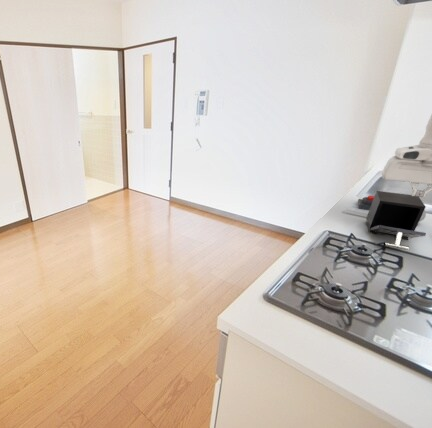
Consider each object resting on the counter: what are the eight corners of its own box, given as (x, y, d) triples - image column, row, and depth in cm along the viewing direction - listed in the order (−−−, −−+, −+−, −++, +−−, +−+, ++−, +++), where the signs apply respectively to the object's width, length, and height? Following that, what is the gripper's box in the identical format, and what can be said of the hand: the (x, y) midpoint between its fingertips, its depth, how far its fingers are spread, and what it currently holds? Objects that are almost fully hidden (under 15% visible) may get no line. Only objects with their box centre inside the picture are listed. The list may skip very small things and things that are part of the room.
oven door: (408, 252, 102) (421, 252, 92) (366, 244, 108) (374, 243, 98) (412, 235, 102) (426, 232, 92) (370, 227, 108) (379, 225, 98)
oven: (409, 241, 103) (425, 206, 98) (367, 233, 110) (380, 200, 104) (403, 228, 112) (418, 195, 106) (365, 221, 119) (376, 190, 113)
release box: (378, 206, 132) (382, 198, 130) (381, 212, 126) (384, 204, 124) (357, 202, 136) (359, 195, 134) (358, 208, 130) (361, 200, 128)
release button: (375, 199, 130) (376, 196, 129) (376, 202, 127) (377, 198, 126) (366, 198, 131) (367, 195, 131) (367, 200, 129) (368, 197, 128)
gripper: (486, 154, 80) (463, 198, 86) (389, 148, 91) (374, 188, 97) (495, 159, 75) (470, 205, 81) (392, 152, 86) (377, 194, 92)
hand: (417, 196), depth 89 cm, fingers closed
